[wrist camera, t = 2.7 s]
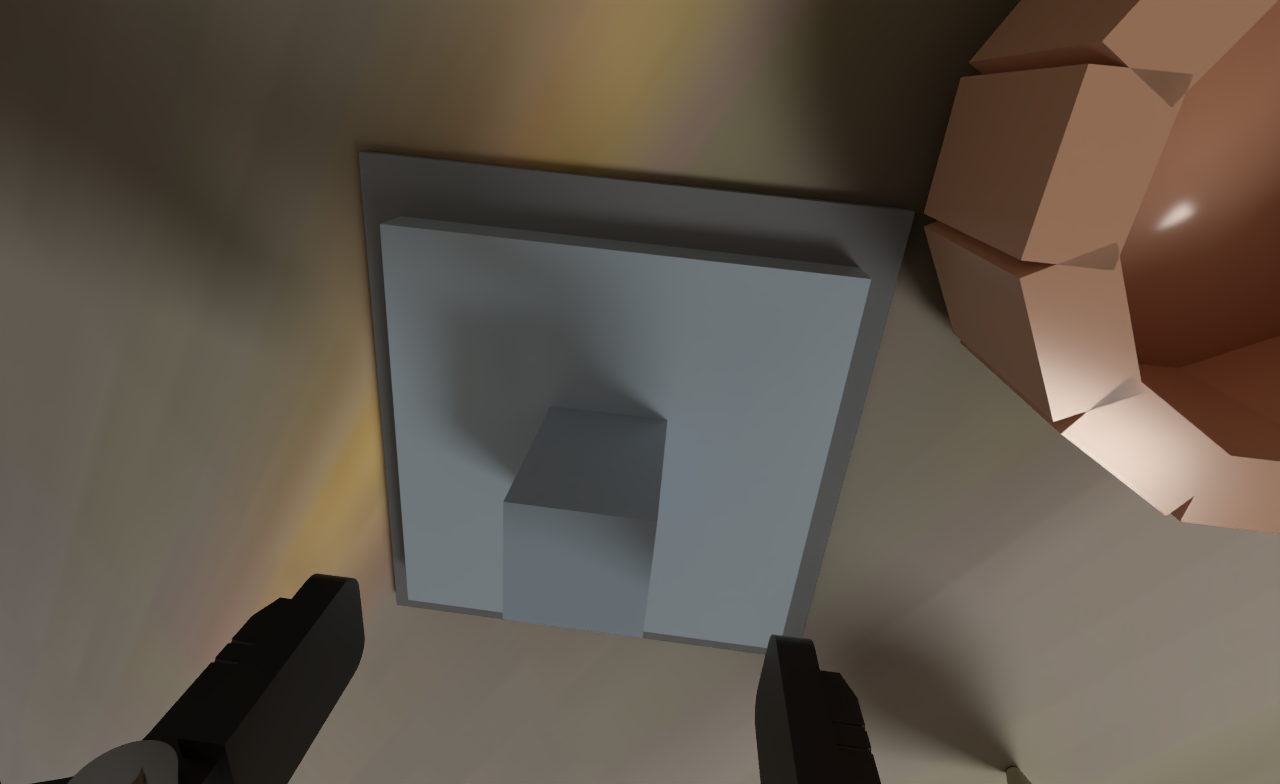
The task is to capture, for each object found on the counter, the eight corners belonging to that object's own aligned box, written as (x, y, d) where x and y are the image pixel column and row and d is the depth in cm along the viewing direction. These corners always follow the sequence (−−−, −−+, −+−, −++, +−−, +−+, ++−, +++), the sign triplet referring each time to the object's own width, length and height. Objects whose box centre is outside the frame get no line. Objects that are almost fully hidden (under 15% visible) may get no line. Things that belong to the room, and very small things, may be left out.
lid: (400, 216, 17) (263, 267, 11) (860, 267, 16) (936, 345, 11) (422, 575, 22) (334, 725, 16) (774, 621, 21) (800, 791, 16)
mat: (365, 150, 17) (358, 151, 16) (910, 209, 16) (914, 211, 16) (401, 596, 23) (397, 604, 22) (794, 649, 22) (795, 658, 22)
